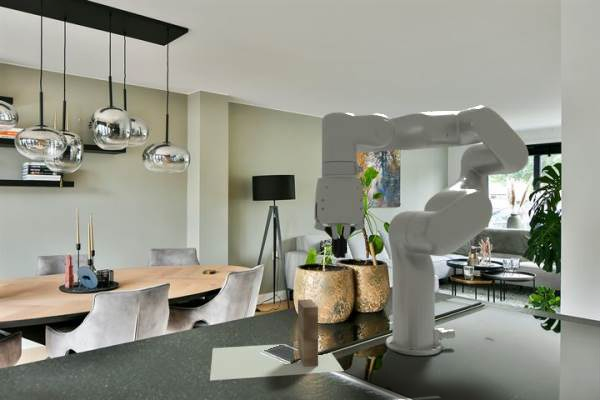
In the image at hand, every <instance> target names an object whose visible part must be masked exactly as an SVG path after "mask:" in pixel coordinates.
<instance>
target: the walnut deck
mask: <svg viewBox="0 0 600 400" xmlns="http://www.w3.org/2000/svg"><path fill="white" fill-rule="evenodd" d="M318 342H319V307H318V305H317V303H315V302H314V301H313V300H312V299H310V298H309V299H298V300H297V343H298V353H299V356H300V359H301V362H302V364H303V366H304V367H309V366H318Z"/></svg>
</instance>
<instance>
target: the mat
mask: <svg viewBox="0 0 600 400" xmlns="http://www.w3.org/2000/svg"><path fill="white" fill-rule="evenodd" d="M284 344H285V343H283V344H282V343H281V344H279V343H278V344H264V345H248V346H247V345H245V346H232V347H231V346H229V347H227V346H226V347H213V348H212V352H211V353H212V355H211V364H210V376H209V377H210V378H209V381H210V382H211V381H224V380H225V381H226V380H236V379H237V380H238V379H239V380H241V379H250V378H251V379H253V378H265V377H266V378H267V377H269V378H270V377H280V376H281V377H283V376H295V375H311V374H323V373H324V374H325V373H339V372H344V371H345V370H344V369H343V368H342V366H341V365H340V363H339V361H338V360H337V358H336V357H335V356H334V354H333V353H332V352H331V353H328V354H323V355H318V366H309V367H304V366H303V364H302V362H299V363H295V364H285V363H283V362H280V361H279V360H276V359H274V358H271V357H269V356H266V355H263V354H261V353H260V352H261V351H264V350H268V349H270V348H273V347H276V346H279V345H284Z"/></svg>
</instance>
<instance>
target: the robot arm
mask: <svg viewBox="0 0 600 400" xmlns="http://www.w3.org/2000/svg"><path fill="white" fill-rule="evenodd" d="M469 145H470V146H469ZM463 146H468V148H466V149H465V150H464V152H463V154H462V156H461V160H460V173H459V178H458V179H456V180H455V181H454V182H453V183H451V184H450V185H448V186H447V187H445V188H443V189H442V190H440V191H438V192H437V193H436V194H433V195H432V196H431V197H430V198H429V199H428V201H427V202H426V203H425V205H424V209H423V210H406V211H402V212H400V213H397V214H396V215H395V216H394V217H393V218H392V219H391V220H390V223H389V226H388V230H387V231H388V234H387V236H388V241H389V242H388V243H389V246H390V247H389V248H390V253H391V261H392V264H391V265H392V267H391V268H392V335H389V336H388V337H387V338H386V340H385V345H386V347H387V348H388V349H390V350H392V351H393V352H396V353H398V354H403V355H407V356H419V357H420V356H421V357H422V356H432V355H436V354H438V353H440V352H441V351H442V350H443V343H442V342H441V341H443V339H447V340H449V339H455V337H456V333H455V330H454V329H444V327H443V328H442V327H441V328H438V327H436V326H435V325H436V323H435V321H436V319H435V318H436V307H435V306H436V303H435V302H436V298H435V297H436V294H435V292H436V290H435V288H436V285H435V282H436V279H435V278H436V277H435V275H436V274H435V266H434V263H433V259H432V257H431V256H434V257H436V256H437V257H444V256H448V255H451V254H453V253H454V252H456V251H457V250H459V249H460V248H462V247H463V246H465V245H466V244H467V243H469V241H471V240H473V238H475V237H476V236H479V235H480V233H482V232H483V231H484V230H485V229H486V228H487V227H488V225H489V223H490V222H491V219H492V215H493V211H494V210H493V204H492V201H491V199H490V197H489V188H488V178H487V177H488V176H495V175H497V176H498V175H507V174H508V175H509V174H516V173H518V172H521V171H522V170H523V169H524V168H525V167H526V166H527V164H528V161H529V151H528V147H527V145H526V143H525V142H524V140H523V139H522V137H520V136H519V134H518V133H517V132H516V131H515V130H514V129H513V128H512V127H511V126H510V125H509V124H508V122H507V121H506V120H505V119H504V118H503V117H502V116H501V114H499V113H497V112H496V111H495V110H493V109H492V108H490V107H488V106H485V105H479V106H478V105H477V106H475V107H469V108H467V109H463V110H457V111H432V112H431V111H427V112H426V111H425V112H423V111H421V112H415V113H409V114H405V115H402V116H398V117H393V118H390V117H388V116H386V115H384V114H380V113H365V114H353V113H349V112H337V111H336V112H331V113H326V114H325V115H324V116H323V117H322V119H321V177H318V178H317V182H316V189H315V199H314V220H315V223H314V230H316V231H317V230H318V231H320V232H325V233H326V234H327V235H328V236H329V238H330V239H331V254H332V255H333V256H334V258H336V259H346V254H348V239H350V237H351V236H352V235H353V233H355V232H356V231H361V230H364V228H365V225H364V221H365V220H364V219H365V206H364V205H365V204H364V203H365V202H364V194H363V193H364V192H363V188H362V187H363V186H362V181H361V178H360V177H358V176H359V174H362V173H364V166H360V165H359V163H358V153H374V152H376V153H377V152H387V151H389V152H390V151H413V150H424V149H425V150H426V149H435V148H437V149H439V148H453V147H456V148H457V147H463ZM338 225H341V230H340V235H339V231H338Z"/></svg>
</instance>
